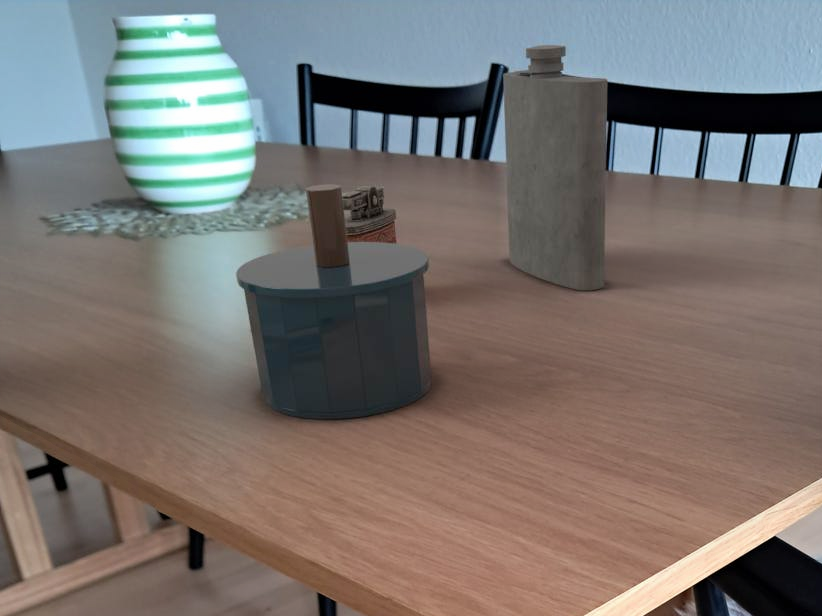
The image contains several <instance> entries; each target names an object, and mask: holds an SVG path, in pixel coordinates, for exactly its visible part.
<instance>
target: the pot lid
mask: <svg viewBox="0 0 822 616" xmlns="http://www.w3.org/2000/svg"><path fill="white" fill-rule="evenodd" d="M305 193H306V200H307V209H308V210H307V211H308V217H309V224H310V230H311V238H312V245H305V246H298V247H293V248H292V247H291V248H288V249H282V250H278V251H274V252H271V253H267V254H265V255H261V256H259V257H256V258H253V259H250V260H248V261H246V262H244V263H243V264H242V265H241V266H239V267H238V269H237V270H236V273H235V276H236V283H237V284H238V286H239V287H240V288H241V289H243V290H244V289H245V290H247V291H249V292H252V293H256V294H260V295H265V296H272V297H283V298H325V297H338V296H348V295H355V294H362V293H368V292H374V291H378V290H383V289H387V288H391V287H395V286H398V285H401V284H404V283H407V282H410V281H412V280H414V279H416V278H418V277H420V276H422V275H423V276H424V274H426V272H427V271H429V269H430V261H429V255H428V254H427V252H425V251H424V250H422V249H420V248H417V247H413V246H411V245H406V244H399V243H396V244H393V243H382V242H347V233H346V225H345V218H346V216H345V210H344V208H343V199H342V195H343V191H342V186H341V185H340V184H333V183H330V184H329V183H328V184H316V185H311V186H308V187H306V188H305Z"/></svg>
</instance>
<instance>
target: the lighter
mask: <svg viewBox="0 0 822 616" xmlns="http://www.w3.org/2000/svg"><path fill="white" fill-rule="evenodd" d="M384 191H385V190H384V186H379V185H377V186H374V185H358V186H356V188H355V189H354V190H353V191H350V192H347V193H345V194H342V199H343V208H344V212H345V211H347V212H348V211H349V213H350V216H347V217H345V225H346V233H347V242H382V243H393V244H397V234H396V223H395V220H396V219H397V212H396V209H395V208H391V207H384V203H385V202H384V199H385V192H384Z"/></svg>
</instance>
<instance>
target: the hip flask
mask: <svg viewBox="0 0 822 616" xmlns="http://www.w3.org/2000/svg"><path fill="white" fill-rule="evenodd" d="M566 47H567V46H565V45H556V44H555V45H554V44H544V45H543V44H542V45H537V46H531V47H526V48H525V59H528V60H529V61H530V64H529V65H527V67H528V69H523V70H514V71H511V72H504V73H503V74H502V78H503V105H504V106H503V109H504V110H503V111H504V136H505V138H504V139H505V165H506V166H505V167H506V168H505V169H506V170H505V171H506V196H507V197H506V198H507V200H506V201H507V227H508V228H507V229H508V257H509V260H508V261H509V263H510V264H511V265H513V266H514V267H516V268H517V269H518V270H521V271H523V272H524V273H526V274H529V275H531V276H532V277H536V278H538V279H540V280H543V281H546V282H548V283H551V284H555V285H558V286H561V287H564V288H568V289H571V290H572V289H573V290H575V291H576V290H577V291H595V290H596V291H597V290H600V289H603V288H604V287H605V253H606V252H605V250H606V195H607V194H606V191H607V190H606V188H607V186H606V184H607V182H606V181H607V134H608V133H607V129H608V126H607V125H608V124H607V123H608V118H607V117H608V79H607V78H604V77H603V78H601V77H582V76H569V75H563V72H562V71H564V62H562V58H564V57H566V56H567V55H566V53H567V52H566V50H567V49H566Z"/></svg>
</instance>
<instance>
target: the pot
mask: <svg viewBox="0 0 822 616" xmlns="http://www.w3.org/2000/svg"><path fill="white" fill-rule="evenodd" d="M243 291H244V297H245V303H246V308H247V314H248V315H247V316H248V321H249V327H250V332H251V337H252V342H253V343H252V344H253V350H254V355H255V360H256V366H257V372H258V377H259V383H260V388H261V395H262V396H263V399H264V401H265V403H266V405H267V406H268V407H270V408H271V409H272V410H275V411H276V412H278V413H281V414H284V415H287V416H290V417H291V416H292V417H294V418H295V417H296V418H297V417H298V418H302V419H314V420H342V419H343V420H344V419H352V418H353V419H354V418H363V417H367V416H368V417H369V416H374V415H378V414H383V413H387V412H391V411H394V410H397V409H400V408H403V407H405V406H408V405H410V404H412V403H414V402H416V401H418V400H419V399H420V398H422V397H423V396H425V395H426V393H428V391H429V390H430V388H431V386H432V368H431V367H432V366H431V356H430V341H429V330H428V329H429V327H428V317H427V305H426V304H427V303H426V292H425V291H426V289H425V279H424V274H423V275H422V276H420V277H418V278H416V279H414V280H412V281H410V282H407V283H404V284H401V285H398V286H395V287H391V288H387V289H383V290H378V291H374V292H368V293H362V294H355V295H348V296H338V297H325V298H283V297H272V296H265V295H260V294H256V293H252V292H249V291H247V290H245V289H243Z"/></svg>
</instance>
